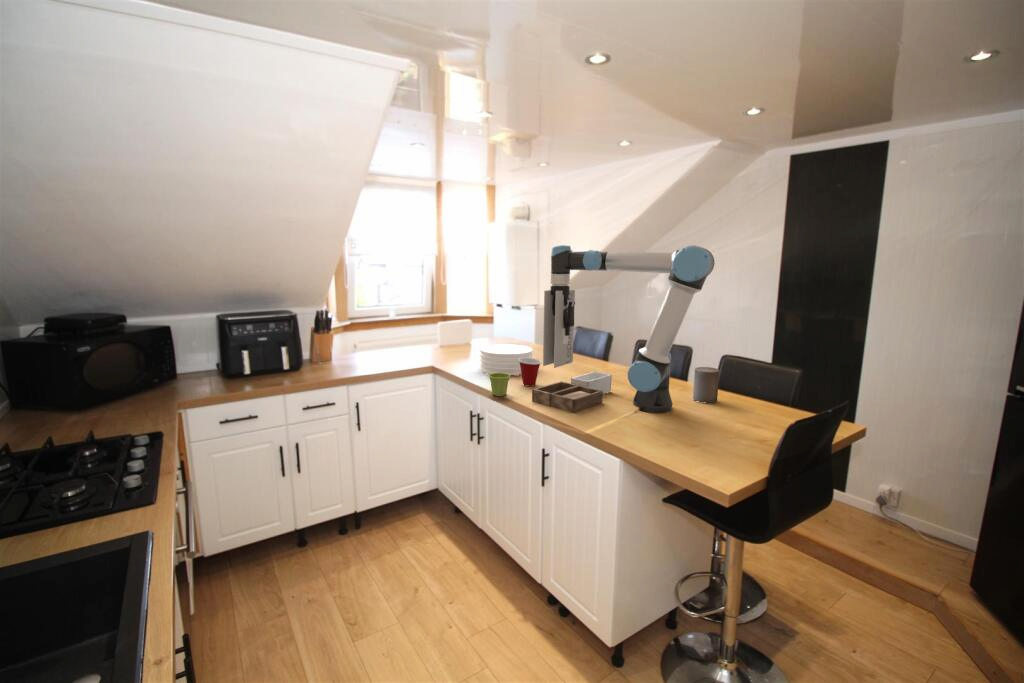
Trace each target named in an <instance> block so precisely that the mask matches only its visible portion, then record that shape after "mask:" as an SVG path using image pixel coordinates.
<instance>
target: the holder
mask: <svg viewBox="0 0 1024 683" xmlns="http://www.w3.org/2000/svg"><path fill="white" fill-rule="evenodd" d="M612 377H613V376H612V374H610V373H605V372H600V371H591V372H587V373H585V374H580V375H578V376H574V377H571V378H570V383H571V384H575V385H580V386H584V387H588V388H592V389H597V390H601V391H603V394H604V395H606V394H605V393H607V392H610V391H611V392H612ZM611 392H610V393H611ZM607 394H608V393H607Z"/></svg>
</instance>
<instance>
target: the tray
mask: <svg viewBox="0 0 1024 683" xmlns="http://www.w3.org/2000/svg"><path fill="white" fill-rule="evenodd" d="M577 391H583V392H586V393H590V394H588V395H585V396H582V397H579V398H576V399H571V398H567V397H564V396H561V395H565V394H569V393H573V392H577ZM603 394H604V393H603V391H601V390H597V389H592V388H588V387H584V386H580V385H575V384H571V382H566V381H562V380H560V381H558V382H554V383H550V384H547V385H544V386H540V387H539V386H538V387H536V388H532V391H531V397H532V398H531V402H533V403H537V404H540V405H542V406H548V407H551V408H554V409H558V410H560V411H565V412H567V413H568V412H569V413H572V414H576V413H579V412H581V411H584V410H586V409H589V408H593V407H595V406H597V405H600V404H602V403H603Z"/></svg>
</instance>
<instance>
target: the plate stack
mask: <svg viewBox="0 0 1024 683" xmlns="http://www.w3.org/2000/svg"><path fill="white" fill-rule="evenodd" d="M479 351H480V354H479V355H480V356H479V357H480V358H479V366H480V367H479V371H480V372H482V373H484V372H485V373H484V374H487V373H489V374H492V373H506V374H510V375H515V376H519V375H518V374H521V367H520V362H519V359H521V358H532V359H533V356H534V355H533V353H534V352H533V351H534V350H533V348H531V347H529V346H526V345H521V344H519V345H518V344H491V345H485V346H482V347H480V349H479ZM489 374H488V375H489Z"/></svg>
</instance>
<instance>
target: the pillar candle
mask: <svg viewBox="0 0 1024 683" xmlns="http://www.w3.org/2000/svg"><path fill="white" fill-rule="evenodd" d="M693 377H694V378H693V391H692V392H693V393H692V400H693V399H694V400H696V401H699V402H706V403H712V404H716V403H715V402H717V403H718V396H719V394H718V393H719V385H720V384H719V383H720V369H718V368H715V367H709V366H708V365H707V366H698V367H695V368H694V376H693ZM694 400H693V401H694ZM696 401H695V402H696ZM699 402H698V403H699Z"/></svg>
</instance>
